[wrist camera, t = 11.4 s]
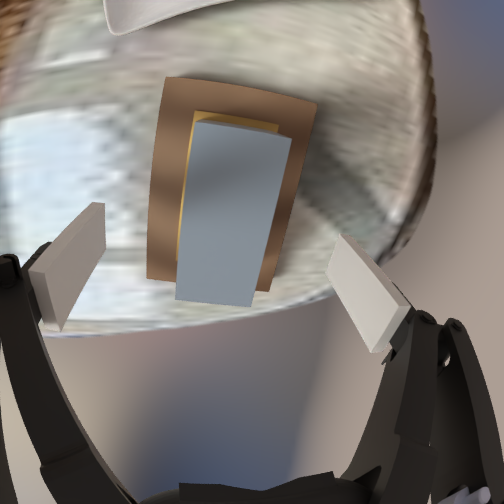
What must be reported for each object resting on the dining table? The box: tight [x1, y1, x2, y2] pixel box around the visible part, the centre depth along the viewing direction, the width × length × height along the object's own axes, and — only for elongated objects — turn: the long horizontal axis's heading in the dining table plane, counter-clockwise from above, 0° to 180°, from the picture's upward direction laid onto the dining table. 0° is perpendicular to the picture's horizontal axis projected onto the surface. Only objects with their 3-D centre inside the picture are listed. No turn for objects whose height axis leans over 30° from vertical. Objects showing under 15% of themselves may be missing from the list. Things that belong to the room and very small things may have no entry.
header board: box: [147, 77, 318, 292], centre depth 22 cm, size 18×12×6 cm, turn 169°
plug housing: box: [175, 119, 292, 307], centre depth 20 cm, size 12×6×6 cm, turn 169°
